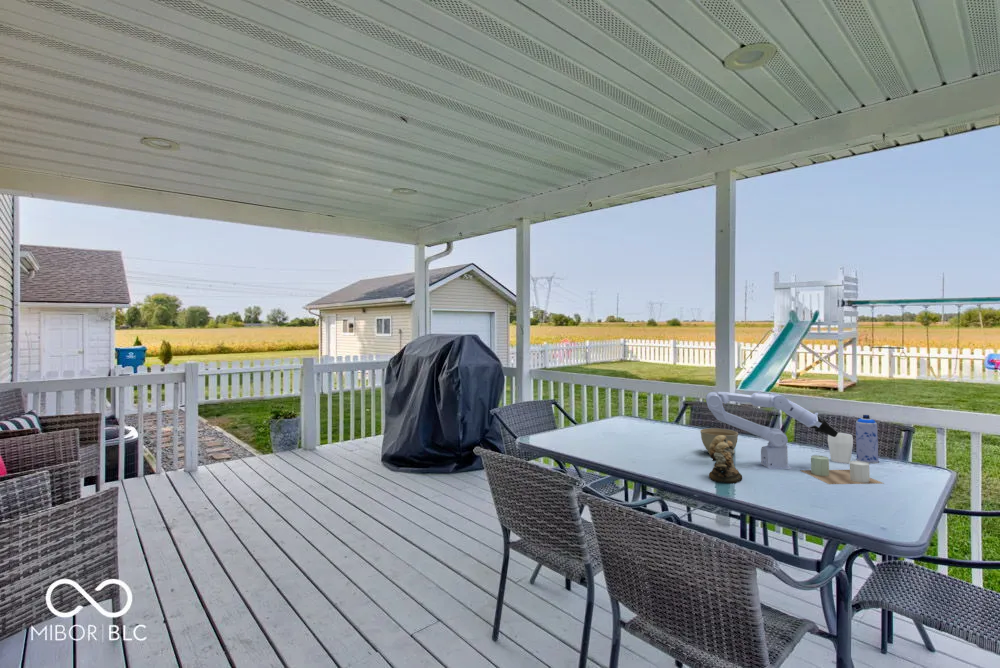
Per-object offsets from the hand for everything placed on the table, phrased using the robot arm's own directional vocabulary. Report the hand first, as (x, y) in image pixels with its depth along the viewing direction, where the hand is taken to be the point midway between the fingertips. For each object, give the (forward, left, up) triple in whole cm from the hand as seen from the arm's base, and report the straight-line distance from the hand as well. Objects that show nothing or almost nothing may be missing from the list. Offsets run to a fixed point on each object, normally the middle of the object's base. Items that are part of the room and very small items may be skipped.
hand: (833, 433), depth 193 cm
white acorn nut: (0, -14, -15) cm, 20 cm away
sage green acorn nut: (-9, -5, -15) cm, 18 cm away
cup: (+11, +13, -16) cm, 23 cm away
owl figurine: (-47, -7, -16) cm, 50 cm away
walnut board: (-4, -9, -15) cm, 18 cm away
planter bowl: (-34, +29, -16) cm, 47 cm away
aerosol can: (+23, +14, -16) cm, 31 cm away
